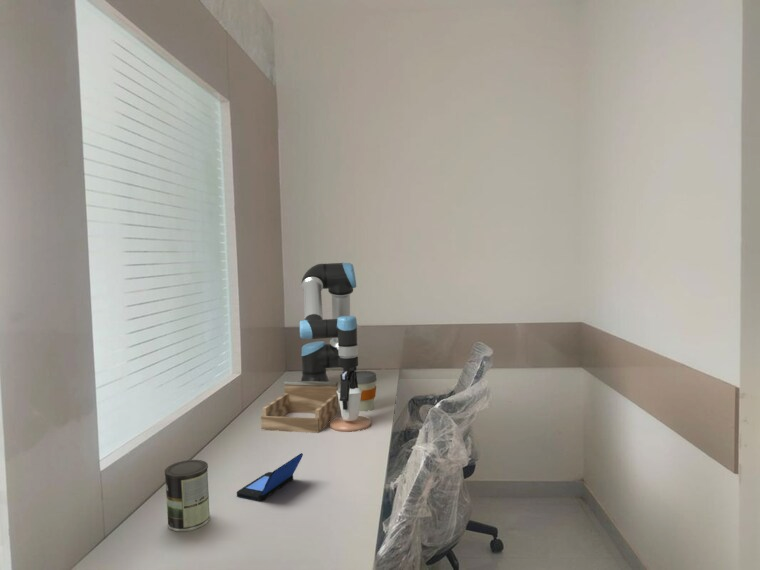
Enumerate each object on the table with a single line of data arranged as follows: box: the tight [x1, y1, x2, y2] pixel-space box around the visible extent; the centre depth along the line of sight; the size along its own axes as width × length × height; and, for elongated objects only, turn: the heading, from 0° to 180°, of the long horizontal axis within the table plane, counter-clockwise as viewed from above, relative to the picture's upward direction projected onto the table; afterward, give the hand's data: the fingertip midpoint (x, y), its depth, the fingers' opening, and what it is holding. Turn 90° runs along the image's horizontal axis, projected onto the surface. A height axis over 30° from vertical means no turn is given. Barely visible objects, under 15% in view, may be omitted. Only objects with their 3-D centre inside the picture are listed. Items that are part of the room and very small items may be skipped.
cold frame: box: [260, 380, 339, 434], centre depth 218 cm, size 25×23×13 cm
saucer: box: [329, 415, 372, 433], centre depth 211 cm, size 16×16×1 cm
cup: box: [337, 388, 362, 421], centre depth 211 cm, size 10×10×11 cm
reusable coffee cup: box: [356, 370, 377, 412], centre depth 232 cm, size 12×13×15 cm
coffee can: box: [164, 459, 211, 533], centre depth 137 cm, size 10×10×14 cm
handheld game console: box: [236, 452, 304, 502], centre depth 155 cm, size 16×13×9 cm
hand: (350, 413), depth 211 cm, fingers closed on cup, 9 cm apart
